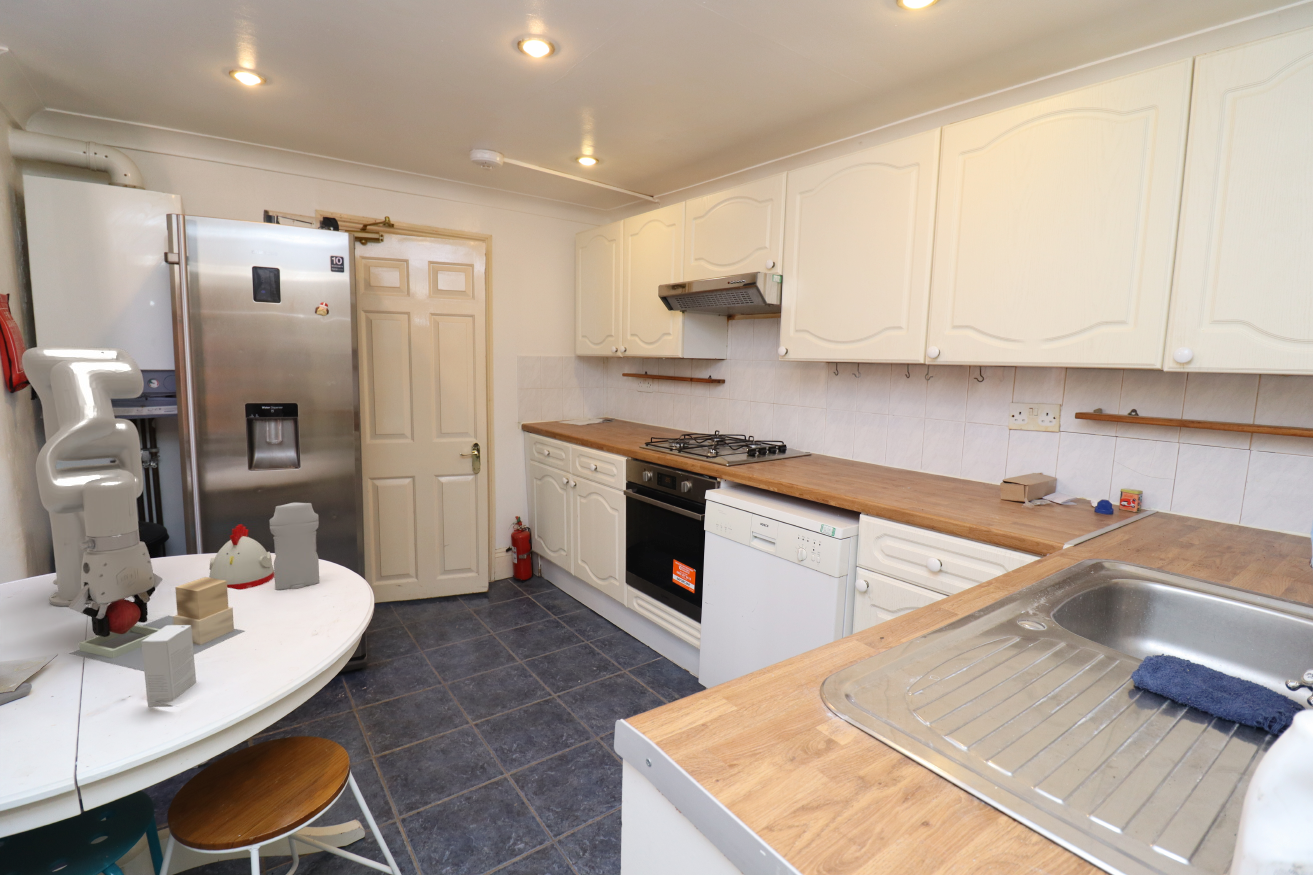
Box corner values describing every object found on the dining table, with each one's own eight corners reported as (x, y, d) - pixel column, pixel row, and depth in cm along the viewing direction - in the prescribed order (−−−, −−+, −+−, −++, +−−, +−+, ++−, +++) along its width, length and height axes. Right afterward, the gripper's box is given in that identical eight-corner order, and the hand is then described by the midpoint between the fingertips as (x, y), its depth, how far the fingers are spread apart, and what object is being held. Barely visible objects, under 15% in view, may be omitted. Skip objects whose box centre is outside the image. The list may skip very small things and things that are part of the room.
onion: (118, 642, 114) (114, 603, 113) (94, 638, 115) (90, 599, 114) (149, 629, 120) (145, 591, 119) (126, 625, 121) (123, 588, 120)
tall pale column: (273, 592, 148) (268, 506, 145) (272, 587, 151) (268, 503, 148) (322, 584, 154) (318, 502, 151) (320, 579, 157) (316, 498, 154)
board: (69, 659, 114) (69, 653, 114) (169, 620, 131) (168, 615, 131) (153, 679, 108) (152, 673, 108) (245, 636, 125) (245, 630, 125)
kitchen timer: (198, 592, 146) (194, 533, 144) (224, 572, 160) (221, 518, 158) (261, 589, 150) (258, 531, 148) (282, 570, 163) (279, 517, 161)
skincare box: (172, 687, 105) (166, 624, 104) (197, 687, 106) (192, 624, 104) (145, 707, 99) (140, 640, 98) (172, 707, 100) (167, 640, 98)
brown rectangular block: (174, 639, 120) (172, 615, 120) (209, 624, 127) (207, 602, 126) (200, 644, 118) (198, 621, 118) (234, 629, 125) (232, 607, 124)
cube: (177, 615, 120) (175, 586, 119) (207, 603, 126) (205, 576, 125) (199, 619, 118) (197, 591, 118) (228, 607, 124) (226, 580, 123)
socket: (79, 650, 115) (78, 642, 115) (132, 629, 124) (131, 623, 123) (113, 658, 112) (112, 650, 112) (164, 636, 121) (164, 629, 121)
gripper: (73, 556, 106) (82, 651, 108) (174, 531, 122) (180, 613, 125) (44, 551, 108) (54, 644, 110) (148, 527, 124) (154, 608, 127)
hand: (121, 627), depth 118 cm, fingers closed on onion, 5 cm apart
